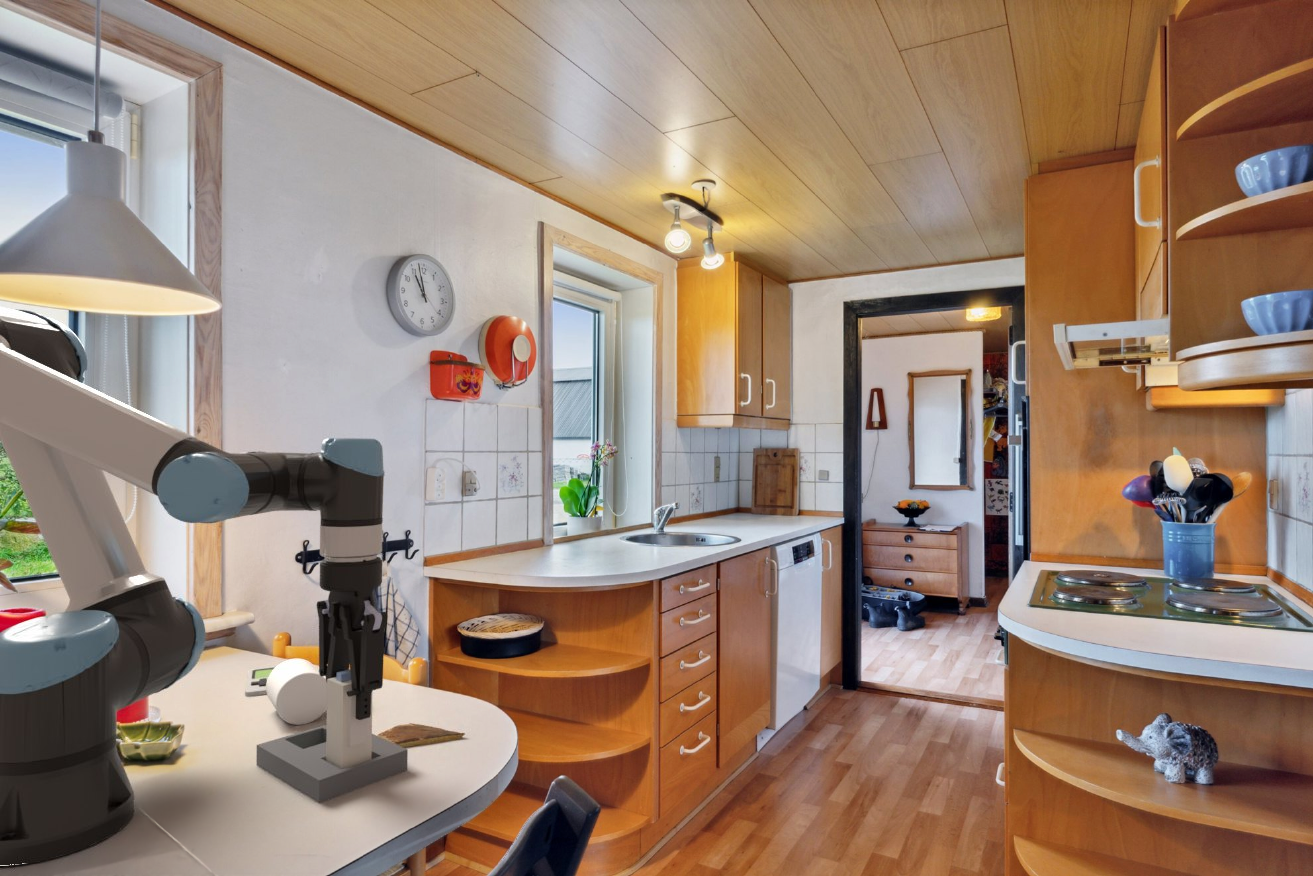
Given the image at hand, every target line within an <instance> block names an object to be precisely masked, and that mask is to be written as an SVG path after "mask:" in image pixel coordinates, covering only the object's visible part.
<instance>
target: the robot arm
mask: <svg viewBox="0 0 1313 876" xmlns="http://www.w3.org/2000/svg"><path fill="white" fill-rule="evenodd" d="M87 356H88V355H87V353H86V350H85V346H84V345H83V344H82V341H81V340H80V339H79V337H78V336H77V335H76V333H74V331H73V330H72V329H70V328H69V327H68V326H66V325H65V324H63V323H62V322H59V320H55V319H54V318H51V317H47V316H44V315H43V314H40V313H37V312H34V311H31V310H26V309H10V308H6V307H2V306H0V442H1V444H2V447H3V449H4V451H5V454H6V456H7V458H8V460H9V462H10V465H11V467H12V470H13V471H14V472H13V473H14V475H15V477H16V479H17V481H18V483H19V486H20V487H21V490H22V493H23V495H24V497H25V500H26V502H27V504H28V506H29V508H30V511H31V514H32V516H33V518H34V519H35V522H36V524H37V527H38V529H39V532H40V533H41V537H42V539H43V542H45V545H46V547H47V551H48V552H49V555H50V557H51V560H52V562H53V563H54V567H55V568H56V570H57V573H58V575H59V578H60V579H61V581H62V584H63V587H64V590H65V591H66V594H67V596H68V599H69V603H68V606H67V607H66V609H65V610H64V612H57V613H54V614H51V615H50V616H39V617H35V618H32V619H29V620H26V621H25V620H24V621H23V622H20V623H17V624H15V625H13V626H10V627H8V628H6V629H4V630H2V631H1V632H0V865H10V864H11V865H12V864H14V865H15V864H22V863H29V864H35V863H39V861H40V862H44V861H47V860H51V859H52V860H53V859H55V858H59V857H63V856H65V855H68V854H72V853H75V852H77V851H80V850H83V849H86V848H88V847H91V846H93V845H95V844H97V843H99V842H101V841H103V840H107V838H109V837H111V836H113V835H114V834H116V833H117V832H119V831H120V830H122V829H123V828H124V827H125V826H126V825H128V823H130V822H131V821H132V819H133V817H134V814H135V794H134V793H135V791H134V789H133V787H132V786H133V785H131V782H130V779H129V777H128V774H127V772H126V769H125V767H124V765H123V763H122V760H121V757H120V756H119V753H118V749H117V728H118V727H117V726H118V725H117V723H118V722H117V721H118V719H117V717H118V716H117V713H118V711H121V710H122V709H123V710H124V709H125V708H126V707H128V706H129V707H130V706H131V705H133V704H135V703H137V702H139V701H141V700H144V699H145V698H147V697H149V696H151V695H153V694H158V693H160V692H161V691H164V690H166V689H168V688H170V687H172V686H173V685H174V684H176V683H177V682H178V681H180V680H181V679H183V678H184V677H185V676H187V675H188V674H190V672H192V670H193V669H194V668H195V667H196V665H197V664H198V662H199V660H200V658H201V656H202V653H203V652H204V649H205V645H206V637H207V636H206V633H207V632H206V626H205V622H204V619H203V617H202V615H201V613H200V611H199V610H198V609H197V608H196V607H195V606H194V605H193V604H192V603H191V602H190V601H184V600H183V599H182V598H180V597H177V596H173V594H172V593H171V590H170V588H169V586H168V583H167V581H166V580H165V578H164V577H162V576H159V575H157V574H156V575H155V574H153V573H150V572H149V571H147V569H146V567H145V565H144V563H143V561H142V558H141V556H140V553H139V551H138V549H137V546H136V545H135V542H134V540H133V538H132V535H131V532H130V531H129V528H128V526H127V524H126V522H125V520H124V516H123V514H122V512H121V510H120V508H119V506H118V503H117V501H116V499H115V496H114V494H113V491H112V490H111V486H110V484H109V482H108V480H107V478H106V476H105V473H104V472H106V473H107V474H109V475H112V476H114V477H116V478H118V479H121V480H123V481H125V482H127V483H129V484H131V485H133V486H135V487H138V488H140V489H141V490H144V491H146V492H148V493H150V494H153V495H154V496H157V497H158V500H159V502H160V504H161V506H162V507H163V508H164V510H165V511H166V512H167V514H168V515H169V516H170V517H172V518H174V519H176V520H178V521H180V522H183V523H190V524H199V523H200V524H215V523H219V522H222V521H223V522H224V521H226V520H232V519H236V518H241V517H246V516H252V515H258V514H265V513H270V512H280V511H284V512H286V511H292V512H293V511H294V512H295V511H308V512H313V511H314V512H316V511H319V512H320V525H319V555H320V556H321V557H323V558H324V559H322V560H321V562H319V587H320V588H321V589H322V590H324V591H326V592H329V593H328V598H327V599H326V600H325V599H324V600H319V601H317V602H316V611H317V617H318V665H319V666H318V671H319V674H320V676H321V677H322V676H325V677H326V682H327V679H330V678H334V677H337V672H341V671H345V670H350V673H351V684H352V690H351V691H347V695H348V730H347V746H349V747H352V746H355V745H358V744H361V743H364V742H367V741H370V715H371V693H372V694H373V691H376V690H379V689H382V688H383V684H384V683H383V681H384V679H383V677H384V655H385V654H384V653H385V629H386V627H387V626H386V625H387V622H388V613H387V612H386V611H380V612H379V611H378V610H377V609H376V608H375V605H376V604H375V599H374V595H373V592H374V590H375V588H379V587H380V586H381V585H382V583H383V559H382V558H381V557H379V555H380V554H381V553H382V552H383V535H384V530H383V521H384V520H383V512H384V511H383V510H384V509H383V506H384V480H385V479H384V477H385V469H384V453H383V451H384V450H383V445H382V443H381V442H380V441H379V440H377V439H375V438H353V437H352V438H350V437H349V438H340V437H339V438H338V437H337V438H335V437H334V438H332V437H328V438H324V440H323V441H322V442H321V446H320V450H319V451H320V452H318V451H317V452H310V453H308V452H307V453H306V452H305V453H304V452H302V453H301V452H279V451H278V452H277V451H276V452H271V451H269V452H266V451H260V450H259V451H248V452H236V453H234V452H233V453H231V452H227V451H225V450H222V449H220V448H218V447H215V446H214V445H211V444H209V443H207V442H205V441H203V440H200V439H198V438H197V437H195V436H193V435H191V434H188V433H187V432H185V431H183V430H181V429H178V428H176V427H174V426H172V425H170V424H169V423H168V424H167V423H166V422H164V421H161V420H159V419H157V418H155V417H153V416H150V415H149V414H146V413H145V412H142V411H140V410H138V409H136V408H134V407H132V406H130V405H128V404H125V402H121V401H120V400H117V399H115V398H114V397H111V396H108V395H106V394H105V393H103V392H100V391H98V390H96V389H94V388H92V387H90V386H88V385H86V384H84V381H85V379H86V376H85V375H84V373H85V371H87V370H88V357H87ZM34 862H35V863H34Z"/></svg>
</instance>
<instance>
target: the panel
mask: <svg viewBox="0 0 1313 876" xmlns="http://www.w3.org/2000/svg"><path fill="white" fill-rule="evenodd" d="M326 737H327V723H326V724H324V725H320V726H317V727H313V728H310V729H307V730H303V731H300V732H297V733H293V734H290V735H285V736H283V737H279V738H276V739H273V740H269V741H265V742H262V743H259V744H256V766H257V767H258V768H260V769H262V770H263V771H265V772H267V773H268V774H269V775H272V776H273V777H274V778H277V779H278V780H280V781H281V782H283V783H285V784H286V785H287V786H288V785H289V786H290V787H291V788H293V789H294V790H296V791H298V792H299V793H302V794H303V795H305V796H307V797H308V798H310V799H311V800H312V801H315V803H316V802H317V803H318V804H321V803H323V802H326V801H329V800H331V799H335V798H337V797H340V796H342V795H345V794H348V793H350V792H353V791H356V790H359V789H362V788H364V787H366V786H369V785H372V784H375V783H377V782H380V781H382V780H385V779H388V778H391V777H394V776H396V775H399V774H401V773H404V772H407V771H408V749H407V748H406V747H404V748H403V747H401V746H398V745H396V744H394V743H392V742H390V741H387V740H385V739H383V738H381V737H378V736H377V735H376V734H373V733H372V758H371V760H368V761H365V762H362V763H359V764H356V765H353V766H351V767H348V768H345V769H340V768H338V767H336V766H334V765H332V764H330V763H329V762H327V761H326Z"/></svg>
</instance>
